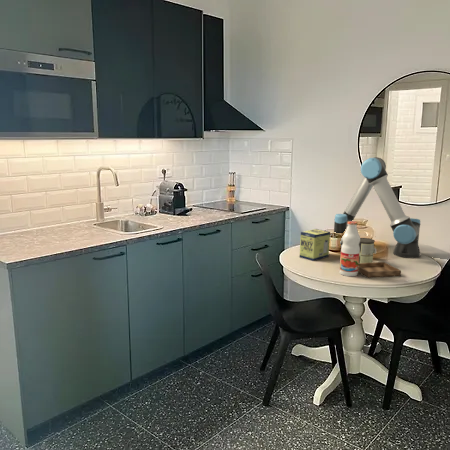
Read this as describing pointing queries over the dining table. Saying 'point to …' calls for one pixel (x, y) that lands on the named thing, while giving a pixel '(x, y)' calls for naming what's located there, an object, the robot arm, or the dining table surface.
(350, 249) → the fruit juice
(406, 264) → the dining table surface
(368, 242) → the coffee can
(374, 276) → the tray
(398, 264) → the dining table surface
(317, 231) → the protein box
